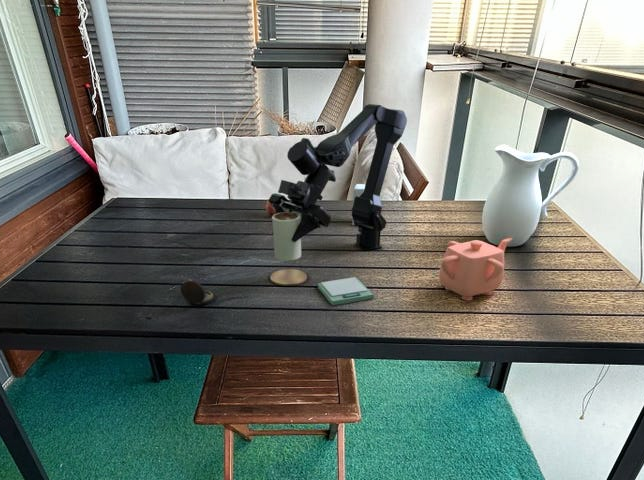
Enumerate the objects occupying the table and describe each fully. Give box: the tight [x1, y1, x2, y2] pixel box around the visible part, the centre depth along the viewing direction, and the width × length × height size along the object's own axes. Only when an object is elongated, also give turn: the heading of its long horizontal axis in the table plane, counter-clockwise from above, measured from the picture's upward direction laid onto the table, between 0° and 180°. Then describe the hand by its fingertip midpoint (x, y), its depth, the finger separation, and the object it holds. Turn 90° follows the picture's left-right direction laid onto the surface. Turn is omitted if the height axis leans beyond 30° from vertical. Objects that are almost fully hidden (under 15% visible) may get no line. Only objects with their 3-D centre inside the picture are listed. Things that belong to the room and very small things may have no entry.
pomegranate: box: [265, 198, 276, 217], centre depth 178 cm, size 7×7×10 cm
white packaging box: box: [351, 183, 366, 226], centre depth 169 cm, size 7×7×13 cm
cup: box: [271, 211, 303, 262], centre depth 127 cm, size 7×7×10 cm
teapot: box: [438, 238, 512, 301], centre depth 122 cm, size 17×16×13 cm
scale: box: [317, 276, 374, 306], centre depth 125 cm, size 11×11×2 cm
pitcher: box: [481, 144, 580, 248], centre depth 147 cm, size 24×17×28 cm
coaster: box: [270, 268, 308, 287], centre depth 133 cm, size 10×10×1 cm
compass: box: [180, 278, 215, 306], centre depth 120 cm, size 8×8×7 cm
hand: (283, 237), depth 126 cm, fingers closed on cup, 7 cm apart
